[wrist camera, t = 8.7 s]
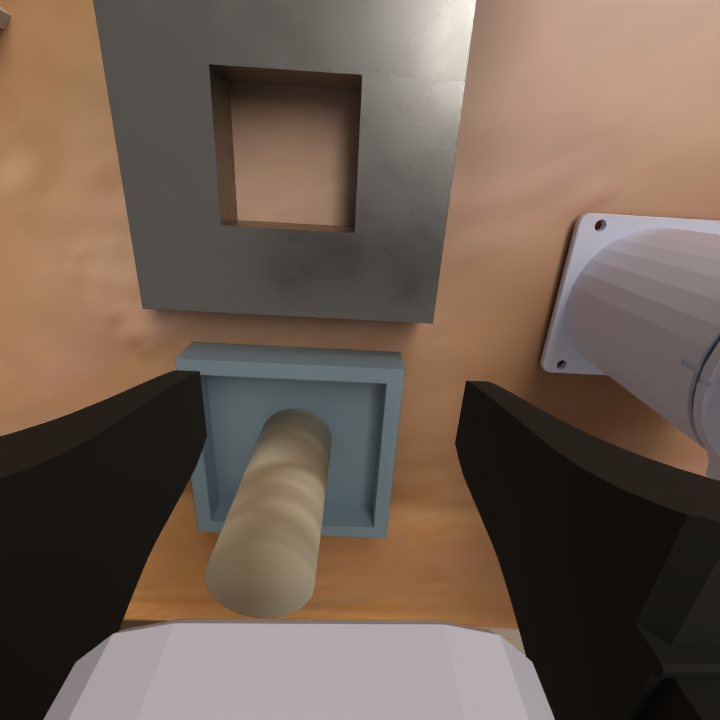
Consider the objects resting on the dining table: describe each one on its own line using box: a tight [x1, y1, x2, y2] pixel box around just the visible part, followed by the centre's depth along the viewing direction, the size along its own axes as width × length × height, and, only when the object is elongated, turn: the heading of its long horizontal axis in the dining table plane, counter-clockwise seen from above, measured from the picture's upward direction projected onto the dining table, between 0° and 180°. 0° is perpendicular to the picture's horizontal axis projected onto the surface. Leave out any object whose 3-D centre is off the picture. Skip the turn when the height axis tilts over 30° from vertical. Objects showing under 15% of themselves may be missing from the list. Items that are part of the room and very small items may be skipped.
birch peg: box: [205, 409, 332, 618], centre depth 19 cm, size 4×4×9 cm
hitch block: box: [93, 0, 476, 324], centre depth 17 cm, size 13×13×2 cm
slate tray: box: [175, 342, 405, 538], centre depth 23 cm, size 11×11×2 cm
